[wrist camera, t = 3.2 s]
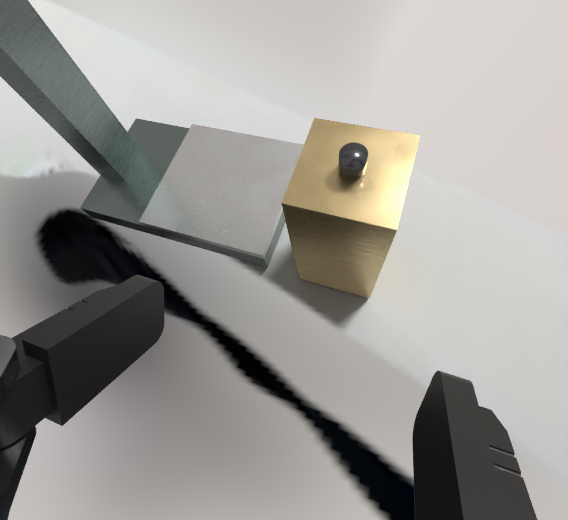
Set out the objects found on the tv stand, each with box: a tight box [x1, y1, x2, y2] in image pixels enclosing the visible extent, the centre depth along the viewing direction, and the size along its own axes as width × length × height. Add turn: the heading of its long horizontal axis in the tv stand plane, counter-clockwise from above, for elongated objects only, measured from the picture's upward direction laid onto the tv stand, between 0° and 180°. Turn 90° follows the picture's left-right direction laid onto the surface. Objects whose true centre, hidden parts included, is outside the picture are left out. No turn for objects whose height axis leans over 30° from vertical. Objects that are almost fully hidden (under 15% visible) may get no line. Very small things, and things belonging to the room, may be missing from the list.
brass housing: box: [281, 118, 420, 298], centre depth 19 cm, size 5×5×11 cm
